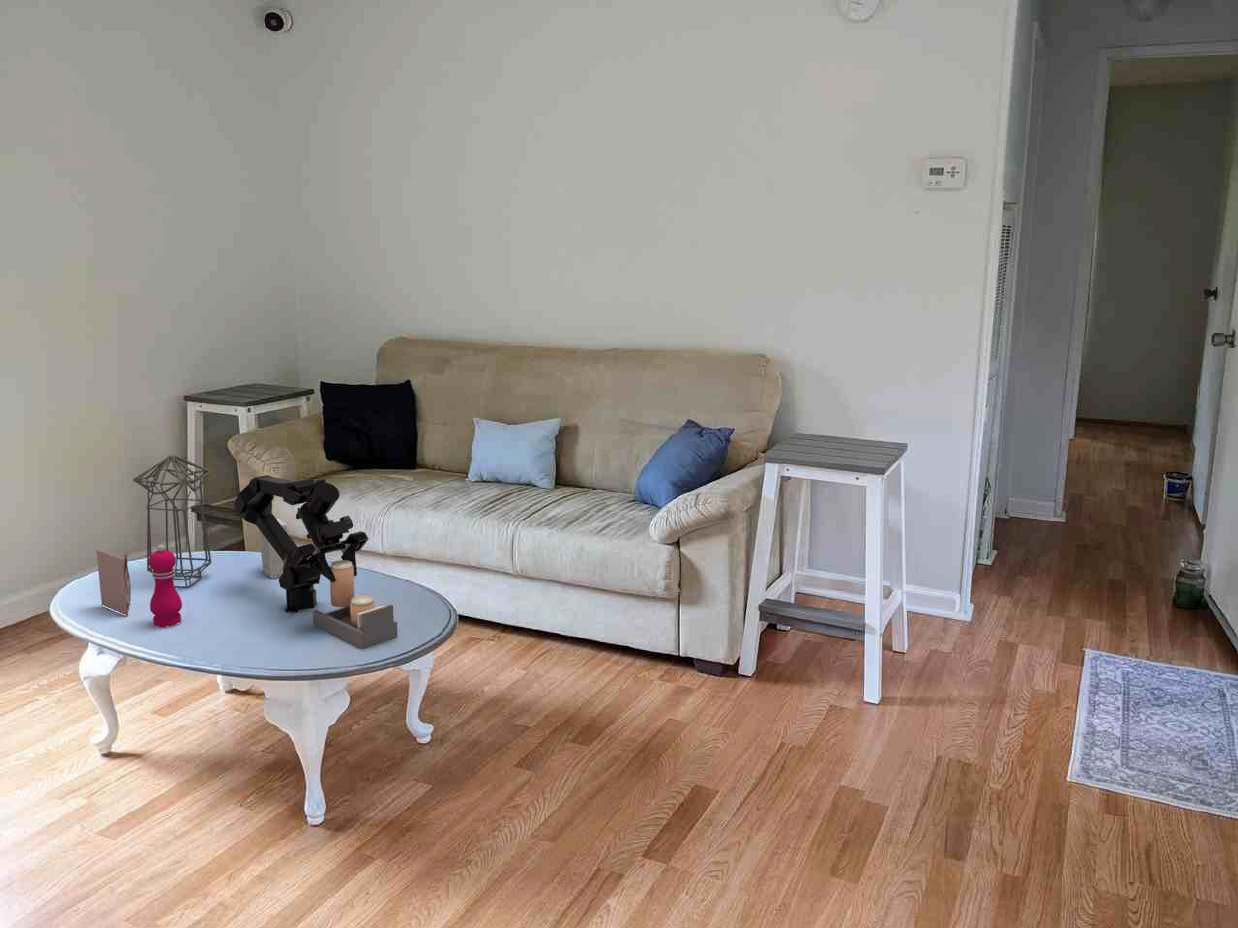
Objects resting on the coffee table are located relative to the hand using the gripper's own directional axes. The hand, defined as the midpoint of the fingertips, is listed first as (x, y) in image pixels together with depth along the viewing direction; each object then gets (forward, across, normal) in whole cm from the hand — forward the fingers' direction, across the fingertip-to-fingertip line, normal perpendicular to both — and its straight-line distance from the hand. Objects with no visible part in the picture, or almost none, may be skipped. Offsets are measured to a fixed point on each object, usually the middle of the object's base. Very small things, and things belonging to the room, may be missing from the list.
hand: (345, 578), depth 254 cm
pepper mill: (-15, -28, +34) cm, 47 cm away
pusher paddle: (+16, 0, +1) cm, 16 cm away
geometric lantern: (-33, -12, +52) cm, 63 cm away
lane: (+12, 0, +7) cm, 14 cm away
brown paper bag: (-26, -33, +46) cm, 63 cm away
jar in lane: (+13, 0, +4) cm, 14 cm away
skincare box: (-24, +9, +44) cm, 51 cm away
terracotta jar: (+4, 0, +6) cm, 7 cm away
